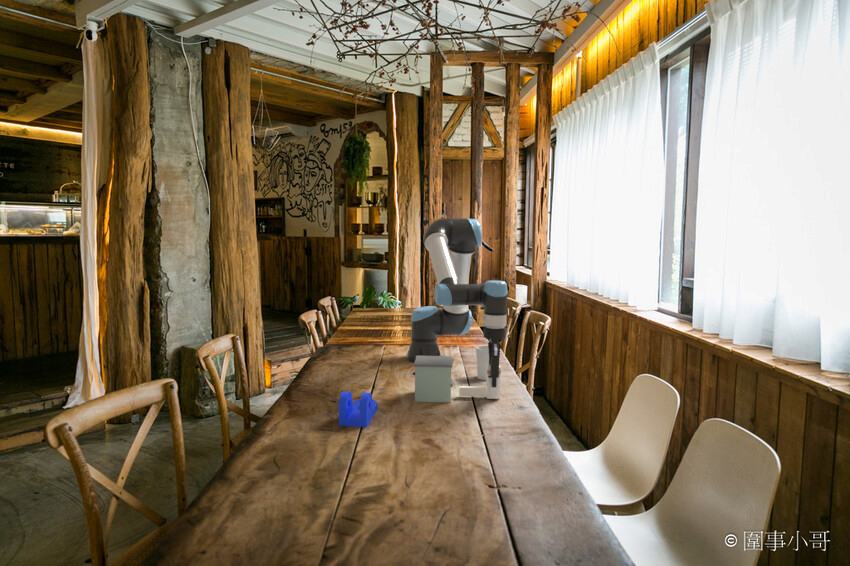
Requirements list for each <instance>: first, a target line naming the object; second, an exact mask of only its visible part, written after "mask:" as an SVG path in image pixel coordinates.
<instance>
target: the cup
mask: <svg viewBox="0 0 850 566" xmlns="http://www.w3.org/2000/svg"><path fill="white" fill-rule="evenodd" d="M488 352H489V348H488V344H487V345H477V346H476V347H475V353H476V371H477V372H476V373H477V376H476V377H477V378H476V379H479V380H483V381H486V380H487V365H489V353H488Z"/></svg>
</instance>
